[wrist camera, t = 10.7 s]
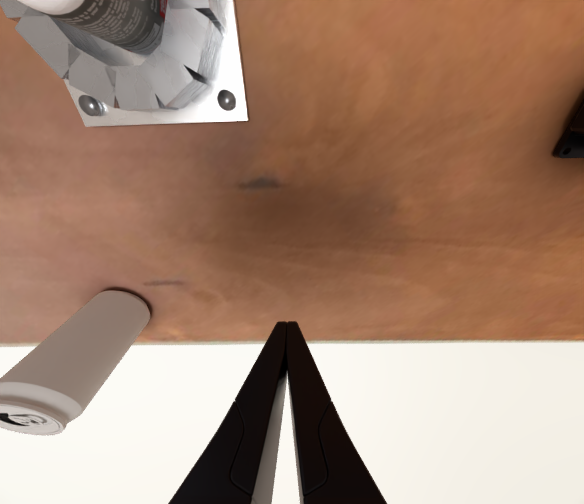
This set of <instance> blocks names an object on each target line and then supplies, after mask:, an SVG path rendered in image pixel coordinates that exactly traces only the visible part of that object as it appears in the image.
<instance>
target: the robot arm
mask: <svg viewBox="0 0 584 504" xmlns="http://www.w3.org/2000/svg"><path fill="white" fill-rule="evenodd" d="M564 150H565V151H564ZM563 151H564V152H563ZM554 156H555V157H557V158H584V101H583V102H582V104H581V106H580V108H579V109H578V111H577V113H576V115H575V116H574V118H573V120H572V122H571V123H570V125H569V127H568V129H567V130H566V132H565V134H564V136H563V137H562V139H561V141H560V143H559V144H558V146H557V148H556V150H555V151H554ZM287 373H288V385H289V395H290V406H291V415H292V425H293V436H294V446H295V455H296V466H297V475H298V486H299V496H300V504H387V503H386V501H385V499H384V497H383V496H382V494H381V492H380V490H379V489H378V487H377V485H376V484H375V482H374V480H373V478H372V476H371V475H370V473H369V471H368V470H367V468H366V466H365V465H364V462H363V461H362V459H361V457H360V455H359V454H358V452H357V450H356V449H355V447H354V445H353V443H352V441H351V439H350V437H349V436H348V434H347V432H346V430H345V428H344V426H343V424H342V421H341V419H340V417H339V415H338V413H337V411H336V409H335V406H334V404H333V402H332V401H331V398H330V395H329V393H328V391H327V389H326V386H325V384H324V382H323V380H322V377H321V375H320V373H319V371H318V368H317V366H316V364H315V362H314V359H313V357H312V355H311V353H310V350H309V348H308V346H307V344H306V341H305V339H304V337H303V335H302V332H301V330H300V328H299V326H298V323H297V322H296V321H289V322H285V321H283V322H277V323H276V325H275V327H274V329H273V331H272V333H271V334H270V336H269V338H268V340H267V342H266V344H265V345H264V347H263V349H262V351H261V353H260V355H259V356H258V359H257V360H256V362H255V364H254V365H253V367H252V369H251V371H250V373H249V375H248V377H247V378H246V380H245V382H244V384H243V386H242V387H241V389H240V391H239V393H238V395H237V397H236V398H235V401H234V402H233V404H232V406H231V407H230V409H229V411H228V413H227V415H226V416H225V418H224V420H223V421H222V423H221V425H220V427H219V428H218V430H217V432H216V433H215V435H214V436H213V438H212V439H211V441H210V442H209V444H208V446H207V447H206V449H205V450H204V452H203V453H202V455H201V456H200V458H199V459H198V461H197V462H196V464H195V465H194V467H193V468H192V469H191V471H190V473H189V474H188V475H187V477H186V478H185V480H184V482H183V483H182V484H181V486H180V487H179V489H178V490H177V492H176V494H175V495H174V496H173V498H172V499H171V500H170V502H169V503H168V504H271V502H272V494H273V486H274V478H275V470H276V462H277V453H278V446H279V438H280V430H281V422H282V414H283V406H284V398H285V390H286V382H287Z"/></svg>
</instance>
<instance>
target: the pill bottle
mask: <svg viewBox="0 0 584 504" xmlns="http://www.w3.org/2000/svg"><path fill="white" fill-rule="evenodd" d="M18 1H20V2H21V3H23V4H25V5H27V6H29V7H31V8H33V9H34V10H36V11H38V12H41V13H43V14H45V15H48V16H50V17H52V18H54V19H57V20H59V21H61V22H64V23H66V24H68V25H70V26H73V27H75V28H77V29H79V30H82V31H84V32H86V33H89V34H91V35H93V36H95V37H98V38H100V39H102V40H105V41H107V42H109V43H111V44H114V45H116V46H118V47H120V48H123V49H125V50H127V51H130V52H133V53H137V54H148V53H151V52H153V51H154V50H155V49H156V48H157V47H158V46H159V45H160V44H161V42H162V36H163V29H164V22H165V15H166V9H167V2H168V0H18Z"/></svg>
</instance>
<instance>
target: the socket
mask: <svg viewBox="0 0 584 504" xmlns="http://www.w3.org/2000/svg"><path fill="white" fill-rule="evenodd" d="M0 5H1V7H2V9H3V11H4V13H5V15H6V16H7V18H9V19H12V20H14V21H17V22H18V24H17V25H16V27H15V29H16V30H17V31H18V33H19V34H20V35H21V36H22V37H23V38H24V39H25V40H26V41H27V42H28V43H29V44H30V45H31V46H32V48H33V49H34V50H35V51H36V52H37V53H38V54H39V55H40V56H41V57H42V58H43V59H44V60H45V62H46V63H47V64H48V65H49V66H50V67H51V68H52V69H53V70H54V71H55V72H56V73H57V74H58V76H59V77H60V78H61V79H64V82H65V84H66V86H67V88H68V90H69V92H70V94H71V96H72V98H73V101H74V103H75V105H76V107H77V109H78V111H79V113H80V115H81V117H82V120H83V122H84V124H85V126H86V127H92V126H119V125H146V124H172V123H199V122H226V121H249V117H248V109H247V101H246V92H245V84H244V75H243V67H242V58H241V50H240V42H239V33H238V25H237V16H236V8H235V0H168V2H167V9H166V15H165V22H164V29H163V36H162V42H161V44H160V45H159V46H158V47H157V48H156V49H155V50H154V51H153V52H151V53H148V54H137V53H133V52H130V51H127V50H125V49H123V48H120V47H118V46H116V45H114V44H111V43H109V42H107V41H105V40H102V39H100V38H98V37H95V36H93V35H91V34H89V33H86V32H84V31H82V30H79V29H77V28H75V27H73V26H70V25H68V24H66V23H64V22H61V21H59V20H57V19H54V18H52V17H50V16H48V15H45V14H43V13H41V12H38V11H36V10H34V9H33V8H31V7H29V6H27V5H25V4H23V3H21V2H20V1H18V0H0Z"/></svg>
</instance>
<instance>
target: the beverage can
mask: <svg viewBox="0 0 584 504" xmlns="http://www.w3.org/2000/svg"><path fill="white" fill-rule="evenodd" d="M149 320H150V312H149V310H148V307H147V305H146V303H145V302H144V301H143V300H142V299H140V298H139V297H137V296H136V295H134V294H131V293H128V292H124V291H103V292H101V293H99V294H97V295H96V296H95V297H93V298H92V299H91V300H90V301H89V302H88V303H86V304H85V305H84V306H83V307H82V308H81V309H80V310H78V311H77V312H76V313H75V314H74V315H73V316H72V317H70V318H69V319H68V320H67V321H66V322H65V323H64V324H62V325H61V326H60V327H59V328H58V329H57V330H55V331H54V332H53V333H52V334H51V335H50V336H49V337H47V338H46V339H45V340H44V341H43V342H42V343H41V344H39V345H38V346H37V347H36V348H35V349H34V350H33V351H31V352H30V353H29V354H28V355H27V356H26V357H24V358H23V359H22V360H21V361H20V362H19V363H18V364H17V365H15V366H14V367H13V368H12V369H11V370H10V371H8V372H7V373H6V374H5V375H4V376H3V377H1V378H0V427H1V428H4V429H7V430H11V431H15V432H19V433H25V434H32V435H55V434H59V433H61V432H62V431H63V430H64V429H65V427H66V424H67V423H69V422H70V421H72V420H73V419H75V418H77V417H78V416H80V415H81V414H82V412H83V411H84V410H85V408H86V407H87V405H88V404H89V403H90V401H91V400H92V398H93V397H94V396H95V394H96V393H97V392H98V390H99V389H100V388H101V386H102V385H103V384H104V382H105V381H106V379H107V378H108V377H109V375H110V374H111V372H112V371H113V370H114V368H115V367H116V366H117V364H118V363H119V362H120V360H121V359H122V357H123V356H124V355H125V353H126V352H127V351H128V349H129V348H130V347H131V345H132V344H133V342H134V341H135V340H136V338H137V337H138V336H139V334H140V333H141V331H142V330H143V329H144V327H145V326H146V325H147V323H148V322H149Z"/></svg>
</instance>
